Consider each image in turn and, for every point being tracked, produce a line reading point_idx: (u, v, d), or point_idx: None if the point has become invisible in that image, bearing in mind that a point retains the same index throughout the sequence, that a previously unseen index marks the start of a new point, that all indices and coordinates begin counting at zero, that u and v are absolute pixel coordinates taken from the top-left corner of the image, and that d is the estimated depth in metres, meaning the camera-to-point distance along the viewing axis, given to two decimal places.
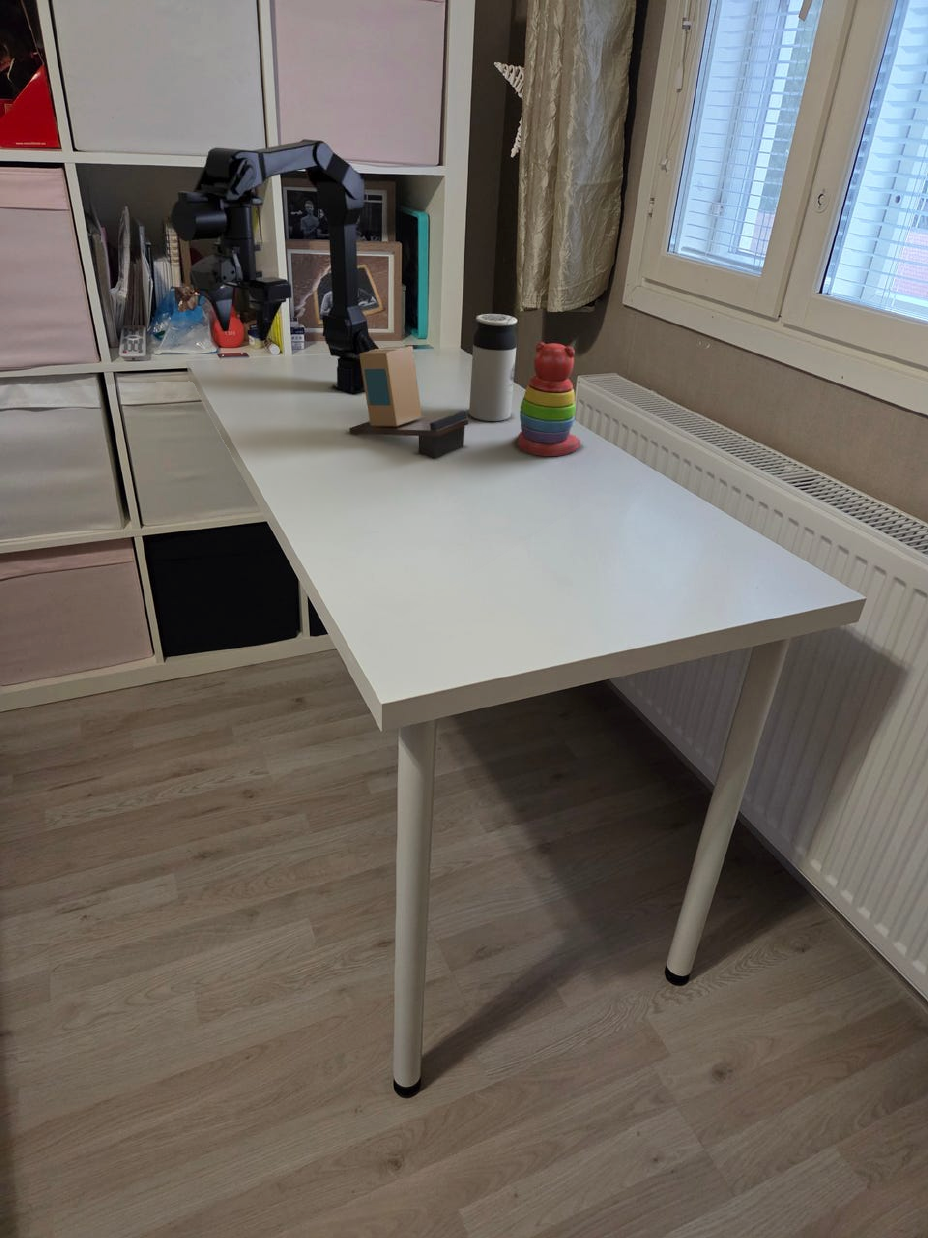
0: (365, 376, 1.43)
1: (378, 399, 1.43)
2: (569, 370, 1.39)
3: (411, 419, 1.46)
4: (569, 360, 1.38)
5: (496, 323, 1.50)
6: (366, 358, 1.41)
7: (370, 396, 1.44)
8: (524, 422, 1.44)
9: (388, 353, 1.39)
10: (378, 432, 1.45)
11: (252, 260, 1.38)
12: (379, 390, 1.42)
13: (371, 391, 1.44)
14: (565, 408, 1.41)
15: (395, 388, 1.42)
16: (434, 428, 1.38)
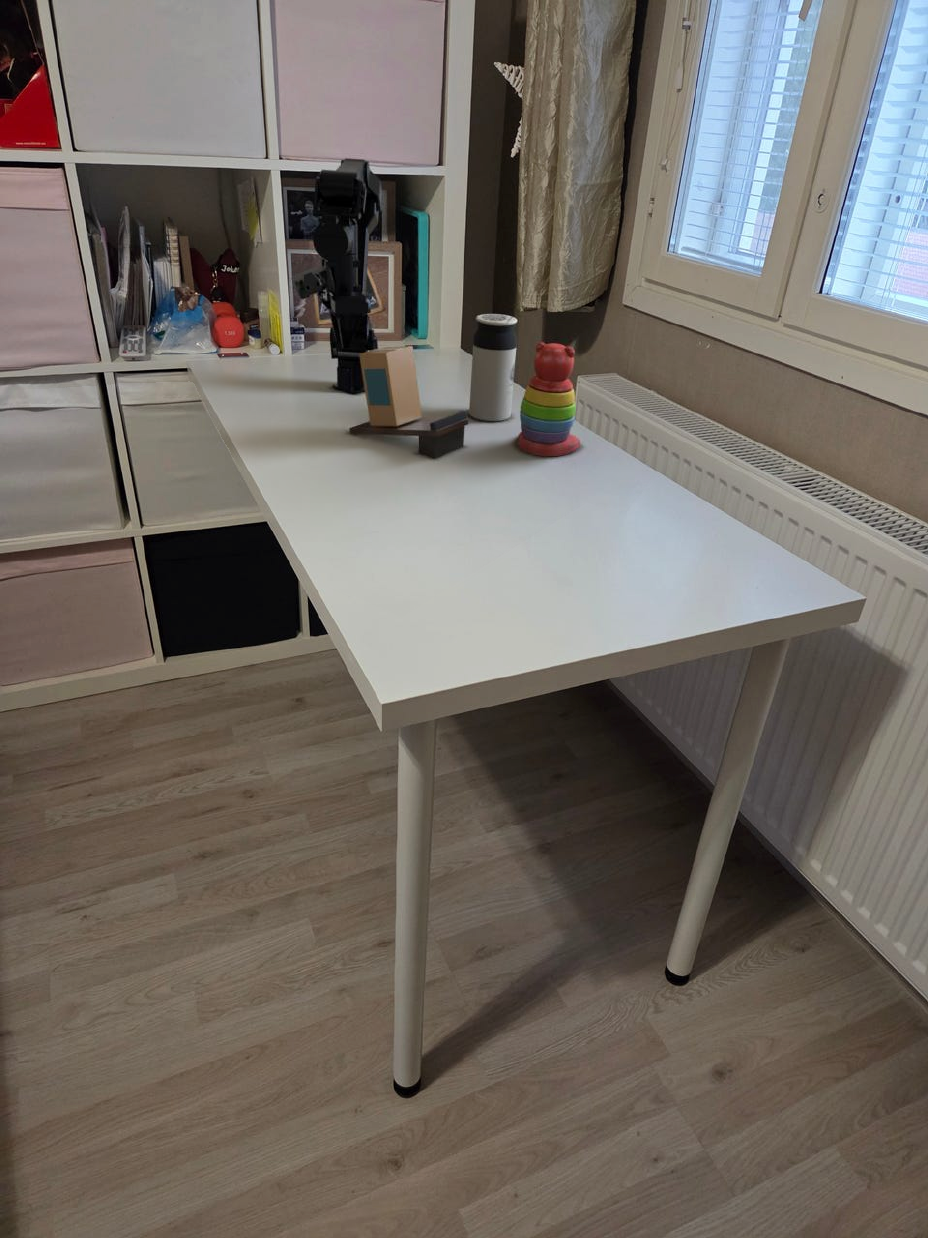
0: (365, 376, 1.43)
1: (378, 399, 1.43)
2: (569, 370, 1.39)
3: (411, 419, 1.46)
4: (569, 360, 1.38)
5: (496, 323, 1.50)
6: (366, 358, 1.41)
7: (370, 396, 1.44)
8: (524, 422, 1.44)
9: (388, 353, 1.39)
10: (378, 432, 1.45)
11: (348, 275, 1.46)
12: (379, 390, 1.42)
13: (371, 391, 1.44)
14: (565, 408, 1.41)
15: (395, 388, 1.42)
16: (434, 428, 1.38)
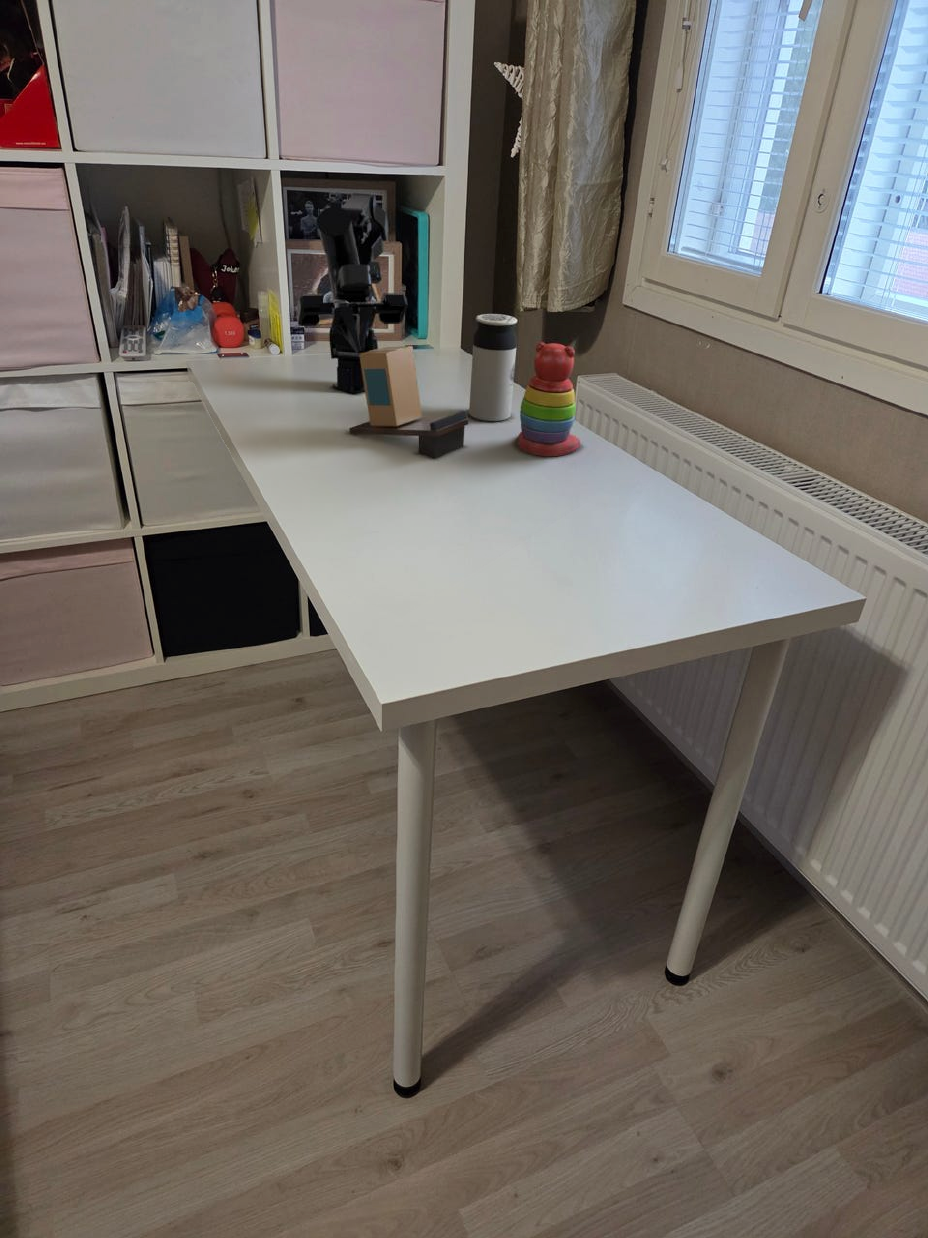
0: (365, 376, 1.43)
1: (378, 399, 1.43)
2: (569, 370, 1.39)
3: (411, 419, 1.46)
4: (569, 360, 1.38)
5: (496, 323, 1.50)
6: (366, 358, 1.41)
7: (370, 396, 1.44)
8: (524, 422, 1.44)
9: (388, 353, 1.39)
10: (378, 432, 1.45)
11: None
12: (379, 390, 1.42)
13: (371, 391, 1.44)
14: (565, 408, 1.41)
15: (395, 388, 1.42)
16: (434, 428, 1.38)
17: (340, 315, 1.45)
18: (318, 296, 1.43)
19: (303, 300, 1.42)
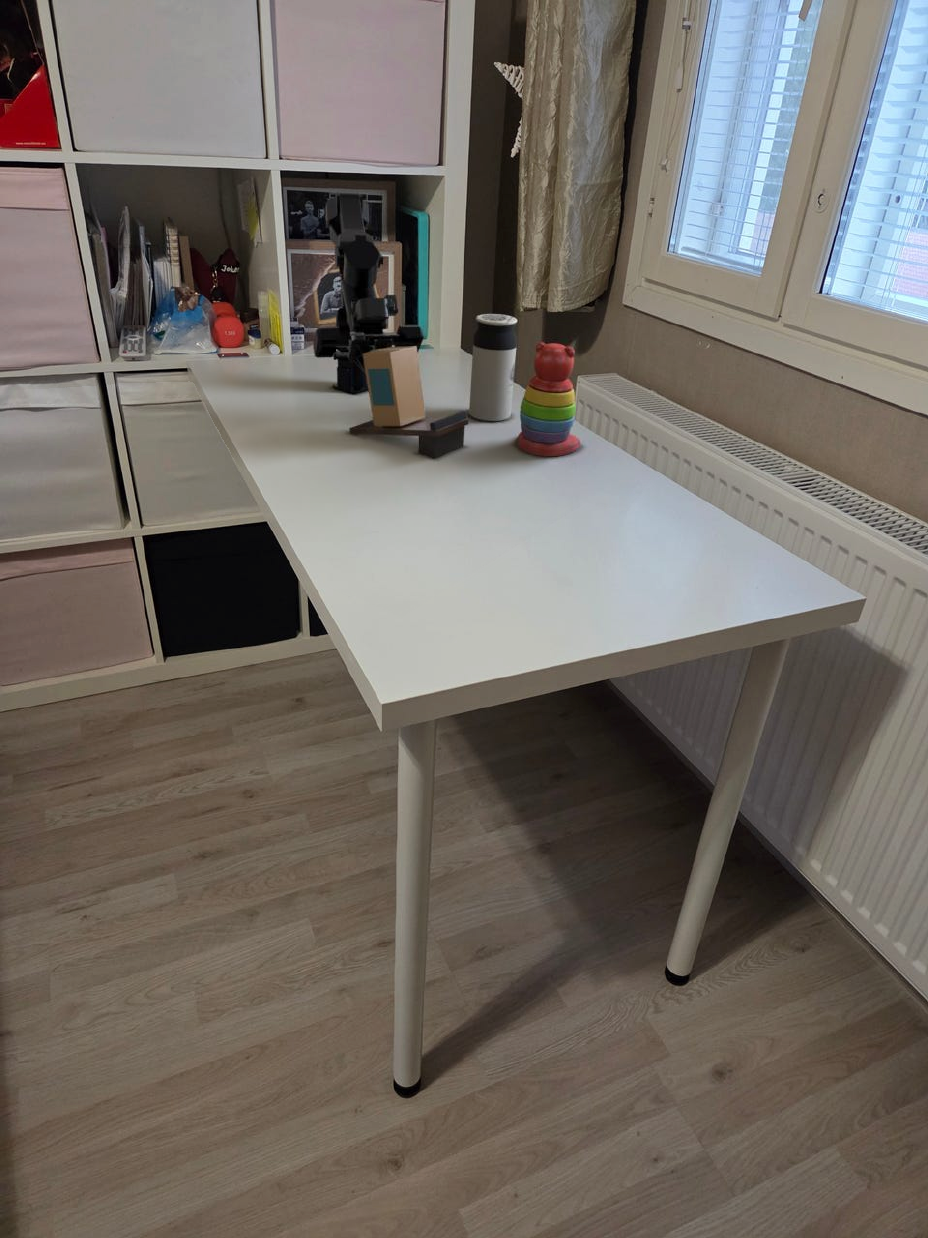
0: (369, 376, 1.42)
1: (382, 399, 1.43)
2: (569, 370, 1.39)
3: (415, 419, 1.46)
4: (569, 360, 1.38)
5: (496, 323, 1.50)
6: (370, 358, 1.41)
7: (374, 396, 1.44)
8: (524, 422, 1.44)
9: (392, 353, 1.39)
10: (378, 432, 1.45)
11: None
12: (383, 390, 1.42)
13: (374, 391, 1.43)
14: (565, 408, 1.41)
15: (399, 388, 1.41)
16: (434, 428, 1.38)
17: (357, 347, 1.46)
18: (335, 329, 1.44)
19: (320, 333, 1.43)
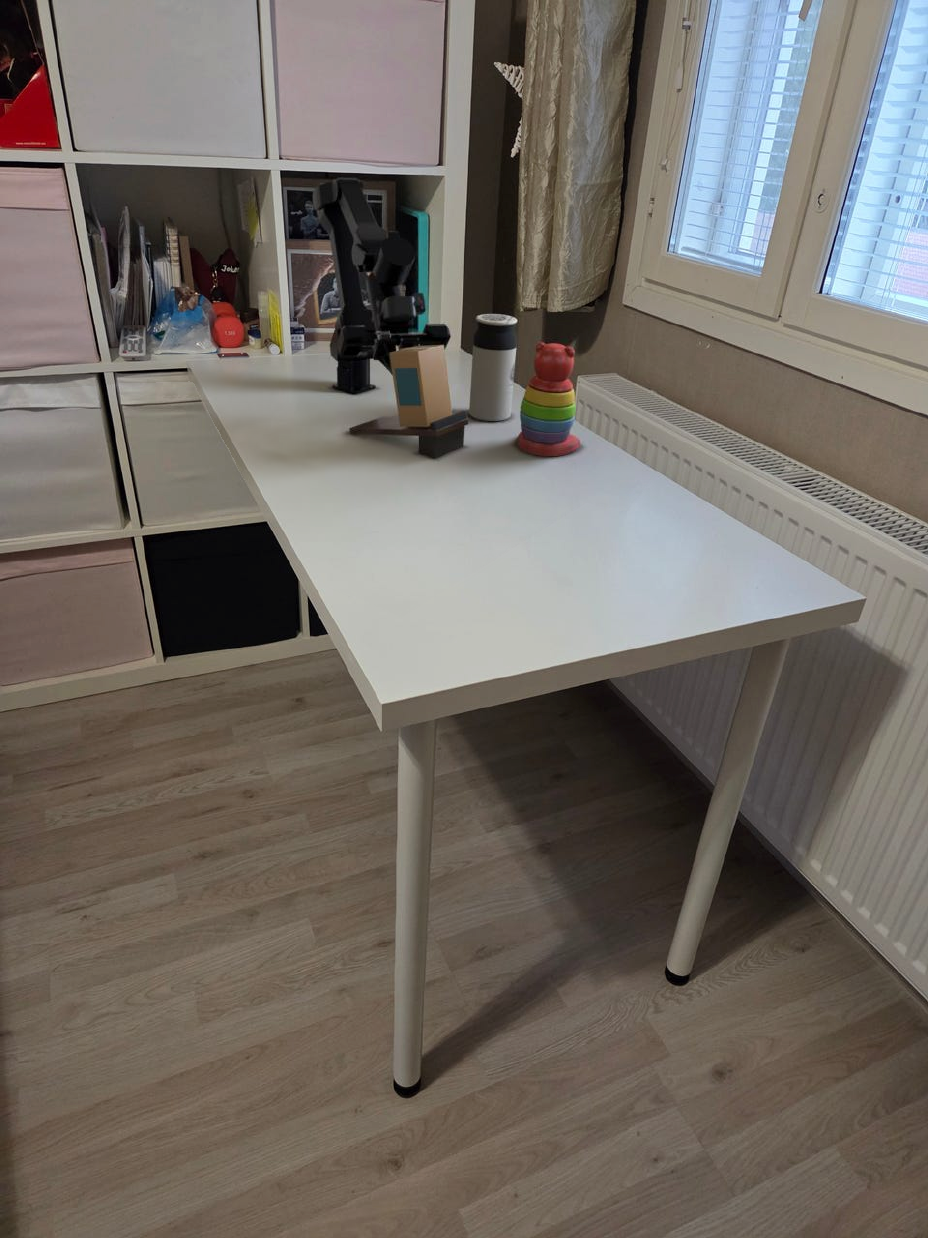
0: (396, 375, 1.39)
1: (408, 399, 1.40)
2: (569, 370, 1.39)
3: None
4: (569, 360, 1.38)
5: (496, 323, 1.50)
6: (397, 357, 1.38)
7: (400, 396, 1.40)
8: (524, 422, 1.44)
9: (420, 352, 1.35)
10: (378, 432, 1.45)
11: None
12: (410, 390, 1.39)
13: (401, 391, 1.40)
14: (565, 408, 1.41)
15: (426, 388, 1.38)
16: (434, 428, 1.38)
17: (383, 347, 1.43)
18: (361, 328, 1.40)
19: (346, 332, 1.40)
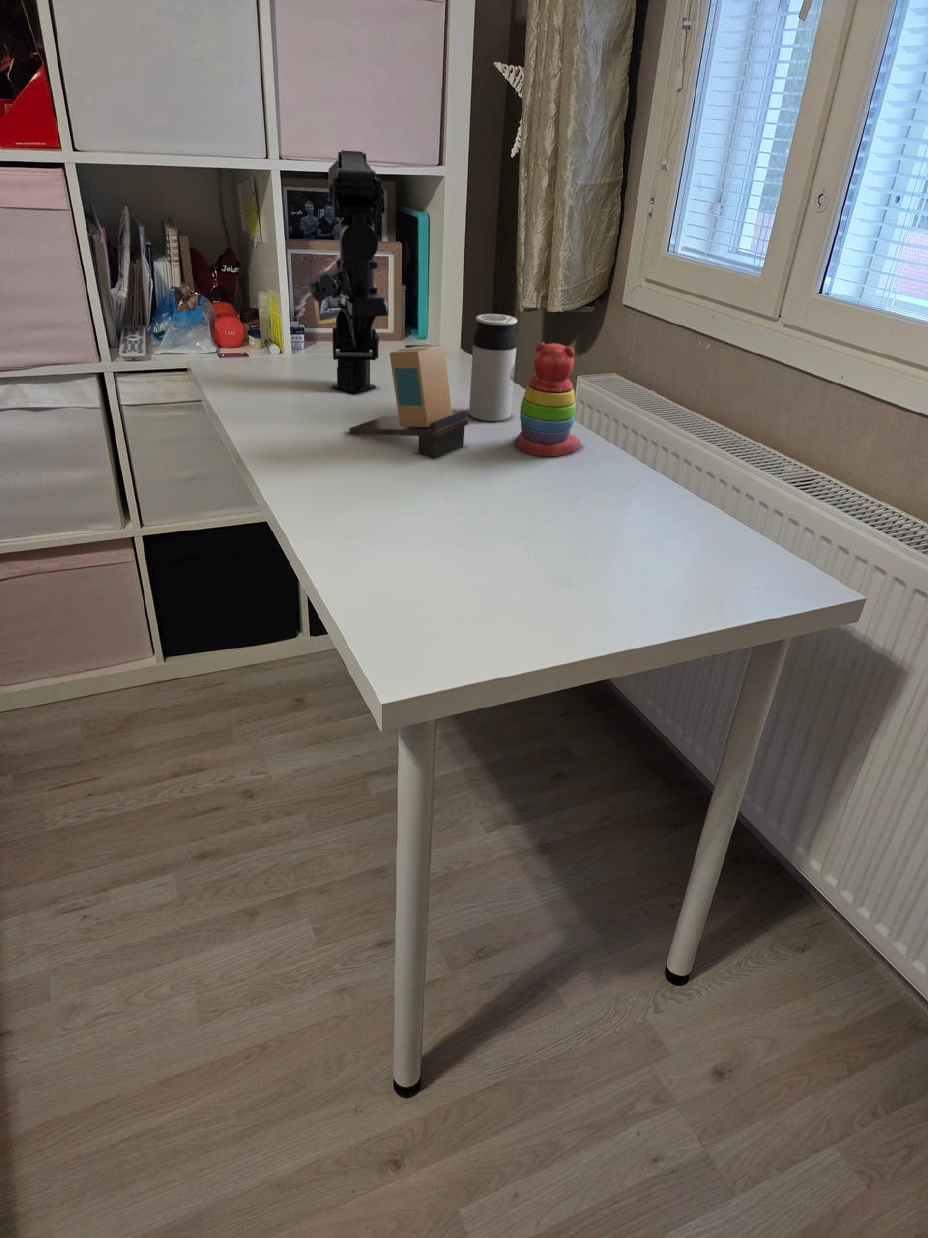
0: (396, 375, 1.39)
1: (408, 399, 1.40)
2: (569, 370, 1.39)
3: None
4: (569, 360, 1.38)
5: (496, 323, 1.50)
6: (397, 357, 1.38)
7: (400, 396, 1.40)
8: (524, 422, 1.44)
9: (420, 352, 1.35)
10: (378, 432, 1.45)
11: (365, 276, 1.42)
12: (410, 390, 1.39)
13: (401, 391, 1.40)
14: (565, 408, 1.41)
15: (426, 388, 1.38)
16: (434, 428, 1.38)
17: None
18: None
19: None
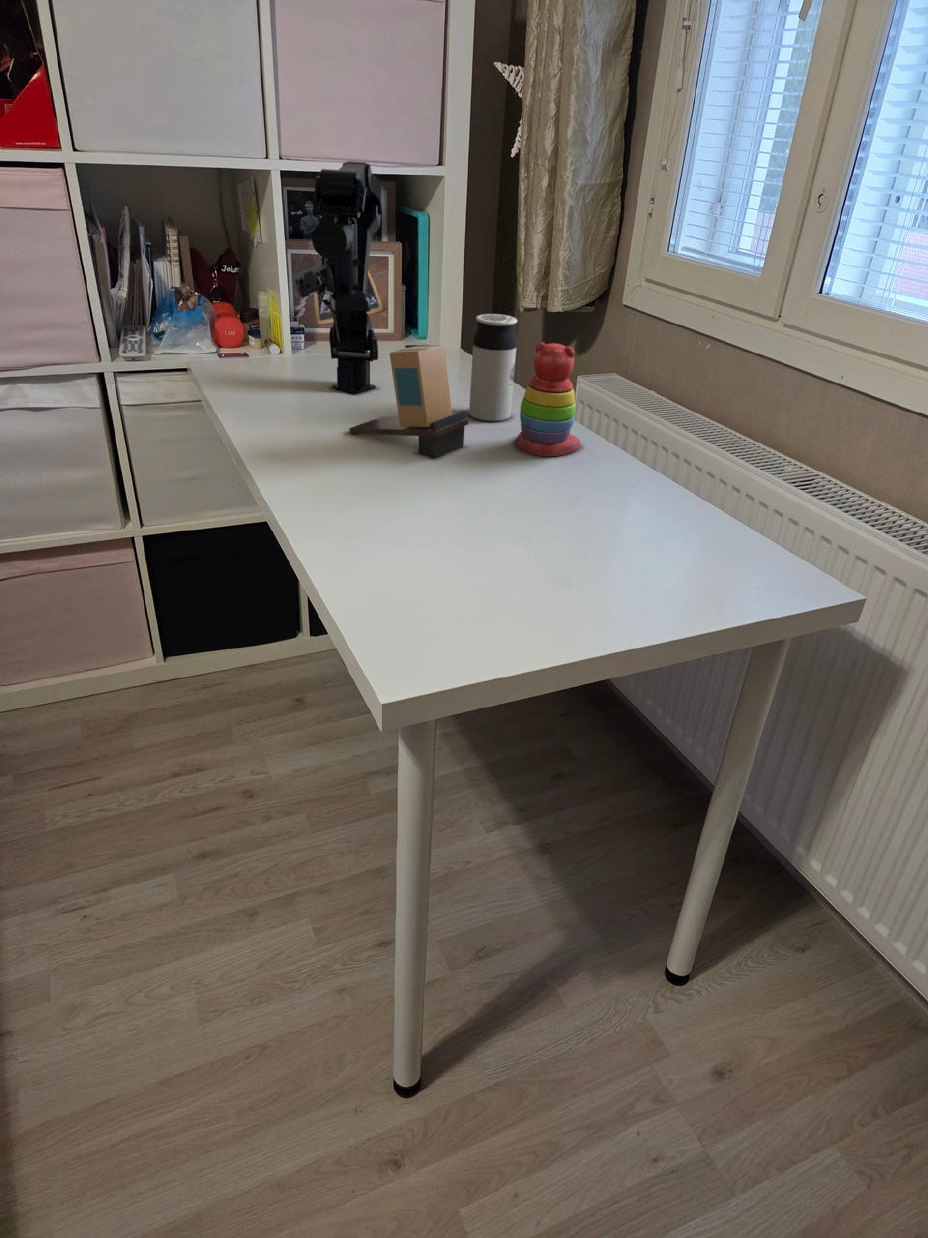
0: (396, 375, 1.39)
1: (408, 399, 1.40)
2: (569, 370, 1.39)
3: None
4: (569, 360, 1.38)
5: (496, 323, 1.50)
6: (397, 357, 1.38)
7: (400, 396, 1.40)
8: (524, 422, 1.44)
9: (420, 352, 1.35)
10: (378, 432, 1.45)
11: (348, 273, 1.47)
12: (410, 390, 1.39)
13: (401, 391, 1.40)
14: (565, 408, 1.41)
15: (426, 388, 1.38)
16: (434, 428, 1.38)
17: None
18: None
19: None
